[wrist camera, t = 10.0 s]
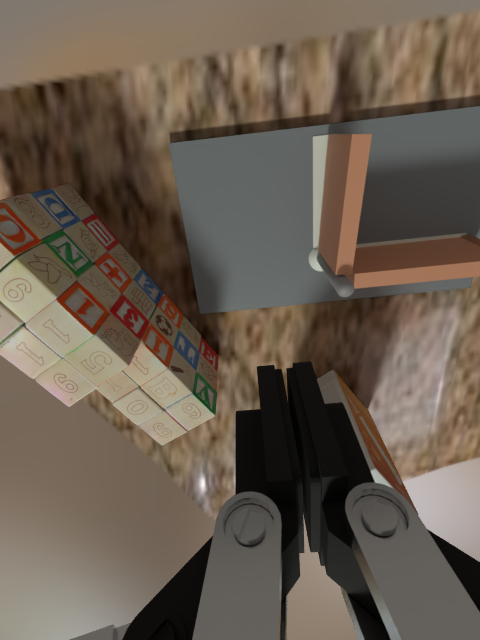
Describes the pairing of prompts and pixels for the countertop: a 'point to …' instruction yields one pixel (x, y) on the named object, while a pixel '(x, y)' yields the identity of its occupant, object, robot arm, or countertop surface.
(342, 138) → the hinged fence panel
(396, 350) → the countertop surface
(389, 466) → the small box
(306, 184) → the board
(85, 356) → the stack of blocks
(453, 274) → the fixed fence panel
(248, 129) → the countertop surface
